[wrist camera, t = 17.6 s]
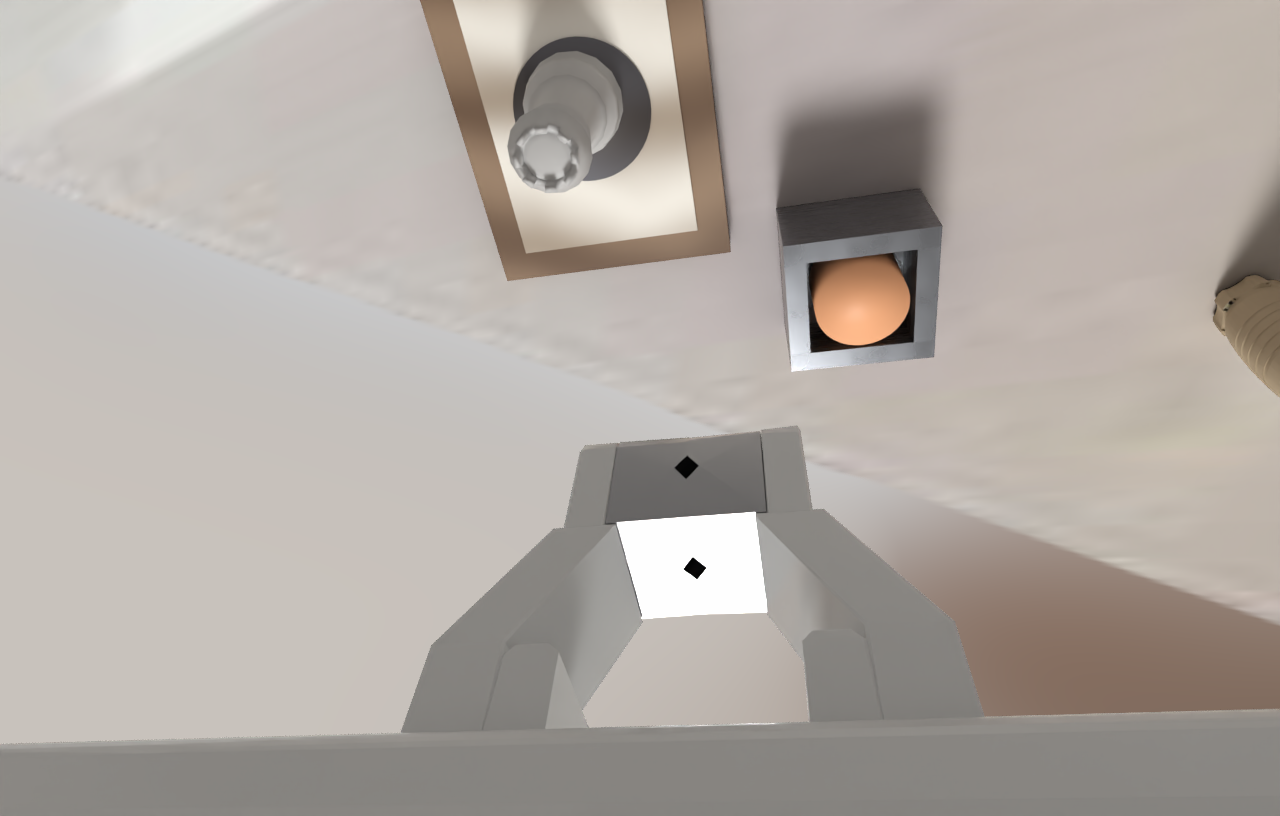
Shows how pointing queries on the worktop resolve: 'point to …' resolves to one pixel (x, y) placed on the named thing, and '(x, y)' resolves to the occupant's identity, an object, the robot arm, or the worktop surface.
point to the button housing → (855, 233)
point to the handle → (1253, 325)
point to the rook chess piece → (564, 121)
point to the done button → (859, 298)
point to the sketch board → (630, 162)
